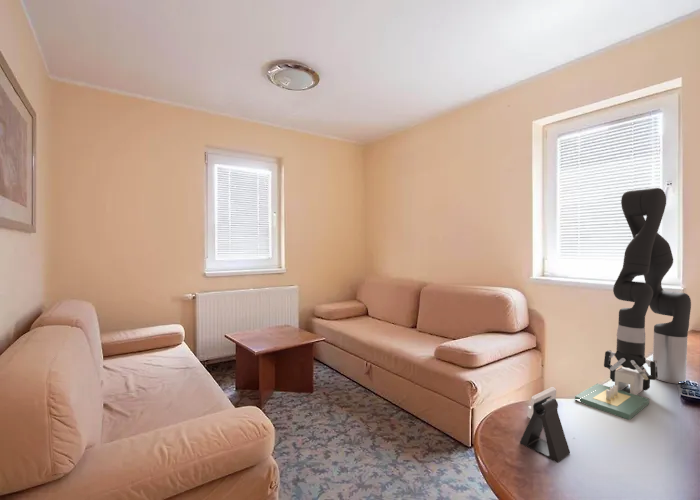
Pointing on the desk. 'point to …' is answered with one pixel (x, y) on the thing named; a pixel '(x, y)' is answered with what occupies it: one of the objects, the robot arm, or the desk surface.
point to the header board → (613, 400)
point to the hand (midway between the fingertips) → (629, 385)
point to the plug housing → (629, 380)
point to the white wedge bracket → (546, 393)
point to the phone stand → (546, 431)
